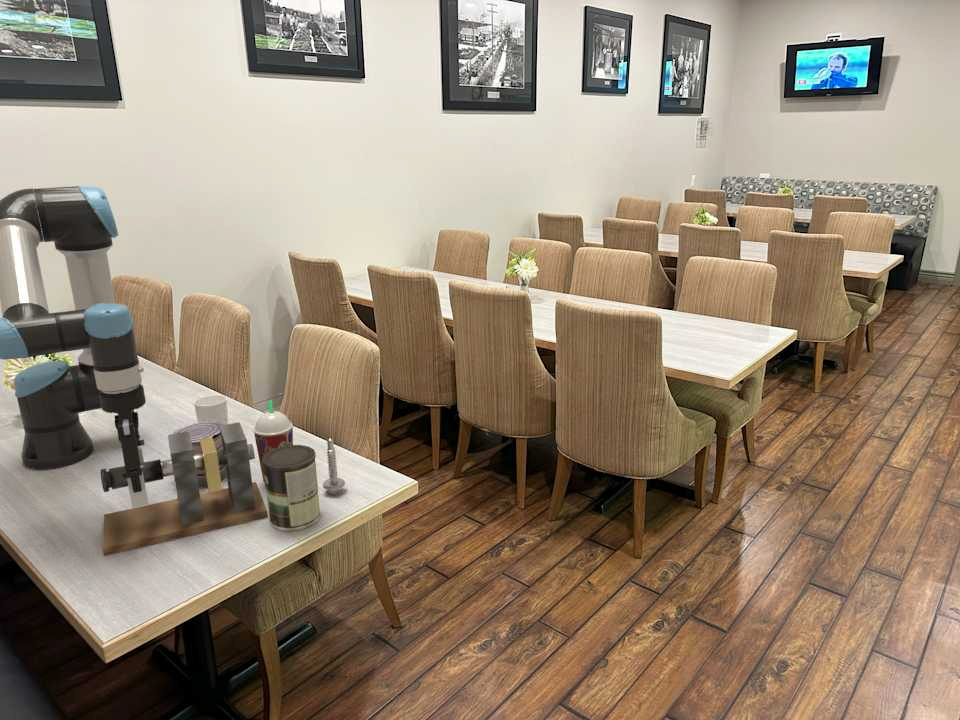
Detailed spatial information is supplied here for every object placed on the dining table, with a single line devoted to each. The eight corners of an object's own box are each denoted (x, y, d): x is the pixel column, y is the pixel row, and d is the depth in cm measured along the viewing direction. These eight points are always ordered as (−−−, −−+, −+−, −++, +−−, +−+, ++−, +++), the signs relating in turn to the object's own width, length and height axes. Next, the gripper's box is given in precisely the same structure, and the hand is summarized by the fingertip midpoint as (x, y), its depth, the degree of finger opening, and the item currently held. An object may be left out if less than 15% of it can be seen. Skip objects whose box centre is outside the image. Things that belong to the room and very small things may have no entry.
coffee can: (264, 533, 135) (256, 468, 131) (275, 506, 145) (267, 445, 140) (317, 530, 136) (311, 465, 131) (324, 504, 145) (318, 443, 141)
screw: (343, 497, 148) (321, 497, 148) (347, 486, 153) (325, 486, 153) (339, 442, 144) (316, 442, 144) (343, 433, 149) (321, 433, 149)
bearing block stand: (103, 555, 128) (86, 474, 123) (105, 520, 140) (89, 445, 135) (267, 516, 141) (258, 441, 135) (256, 487, 153) (247, 417, 147)
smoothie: (305, 477, 157) (297, 395, 151) (284, 494, 150) (275, 409, 144) (274, 472, 160) (265, 392, 154) (252, 488, 152) (241, 405, 146)
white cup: (236, 430, 184) (231, 395, 181) (222, 442, 176) (217, 406, 173) (208, 429, 185) (202, 394, 181) (193, 441, 177) (188, 405, 174)
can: (225, 487, 153) (218, 437, 150) (171, 491, 152) (163, 442, 148) (234, 464, 164) (227, 418, 160) (184, 468, 162) (176, 421, 159)
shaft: (104, 496, 130) (100, 475, 128) (105, 486, 134) (100, 465, 132) (256, 465, 142) (253, 445, 140) (252, 456, 145) (250, 437, 144)
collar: (209, 492, 137) (203, 454, 134) (204, 475, 144) (199, 439, 141) (222, 490, 138) (216, 452, 135) (217, 473, 145) (212, 436, 142)
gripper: (144, 404, 119) (163, 514, 126) (141, 366, 140) (158, 462, 146) (95, 412, 116) (117, 524, 123) (100, 372, 137) (118, 470, 143)
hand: (139, 491), depth 135 cm, fingers open, 12 cm apart
